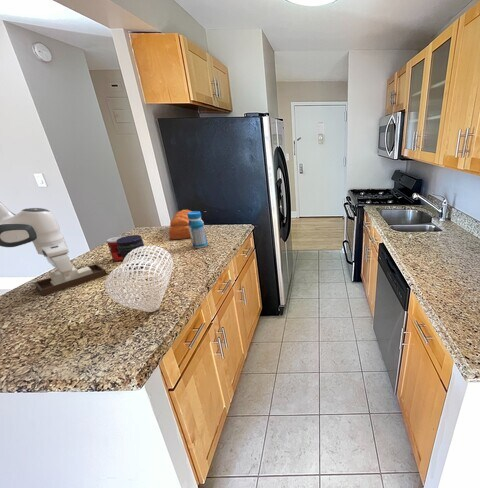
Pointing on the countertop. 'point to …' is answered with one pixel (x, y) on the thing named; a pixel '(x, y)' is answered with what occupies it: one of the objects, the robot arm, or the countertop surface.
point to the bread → (180, 225)
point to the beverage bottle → (197, 229)
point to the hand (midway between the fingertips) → (64, 276)
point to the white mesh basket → (140, 261)
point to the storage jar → (130, 247)
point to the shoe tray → (48, 288)
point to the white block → (58, 277)
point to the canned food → (114, 248)
